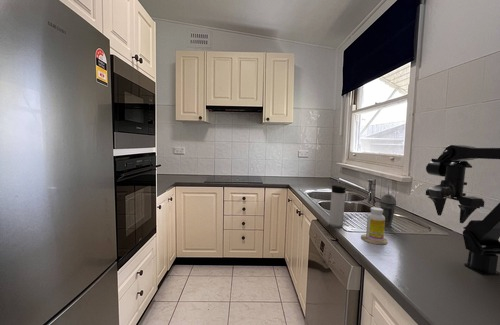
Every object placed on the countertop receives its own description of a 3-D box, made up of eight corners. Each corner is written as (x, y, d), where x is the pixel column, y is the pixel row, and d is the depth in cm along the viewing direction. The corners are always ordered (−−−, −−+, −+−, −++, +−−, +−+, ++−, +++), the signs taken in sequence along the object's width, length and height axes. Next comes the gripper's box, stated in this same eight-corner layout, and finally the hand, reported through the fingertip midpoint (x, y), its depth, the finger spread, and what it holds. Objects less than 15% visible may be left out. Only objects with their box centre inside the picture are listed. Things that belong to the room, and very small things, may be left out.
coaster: (393, 244, 100) (393, 243, 100) (369, 244, 99) (369, 243, 98) (377, 235, 110) (377, 233, 109) (356, 235, 108) (356, 233, 108)
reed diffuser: (379, 226, 121) (382, 186, 120) (376, 221, 128) (379, 184, 126) (396, 228, 119) (399, 187, 117) (392, 223, 126) (395, 185, 124)
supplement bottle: (387, 241, 101) (389, 211, 99) (371, 241, 100) (373, 211, 99) (377, 235, 107) (379, 206, 106) (362, 235, 107) (365, 206, 106)
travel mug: (326, 224, 121) (328, 184, 120) (336, 222, 124) (338, 183, 122) (335, 228, 116) (338, 186, 114) (345, 227, 118) (348, 186, 117)
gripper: (415, 174, 100) (411, 211, 102) (458, 182, 82) (453, 228, 83) (439, 175, 102) (436, 212, 103) (488, 183, 83) (482, 227, 84)
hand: (449, 219), depth 93 cm, fingers open, 9 cm apart
